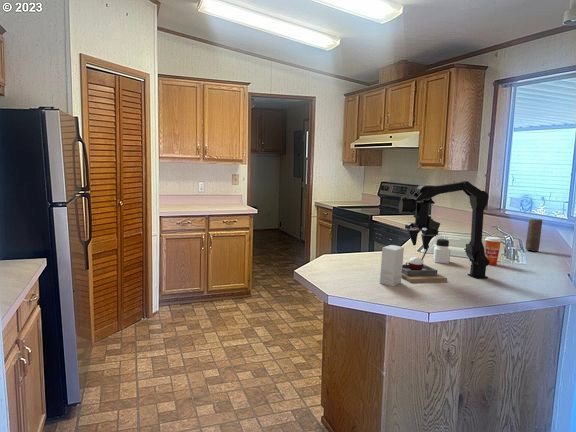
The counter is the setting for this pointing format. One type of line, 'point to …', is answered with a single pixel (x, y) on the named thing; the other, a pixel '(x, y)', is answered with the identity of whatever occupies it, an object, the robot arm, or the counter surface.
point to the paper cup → (492, 249)
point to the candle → (533, 234)
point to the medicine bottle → (442, 251)
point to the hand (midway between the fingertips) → (419, 247)
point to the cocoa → (416, 262)
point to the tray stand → (421, 275)
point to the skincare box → (391, 265)
